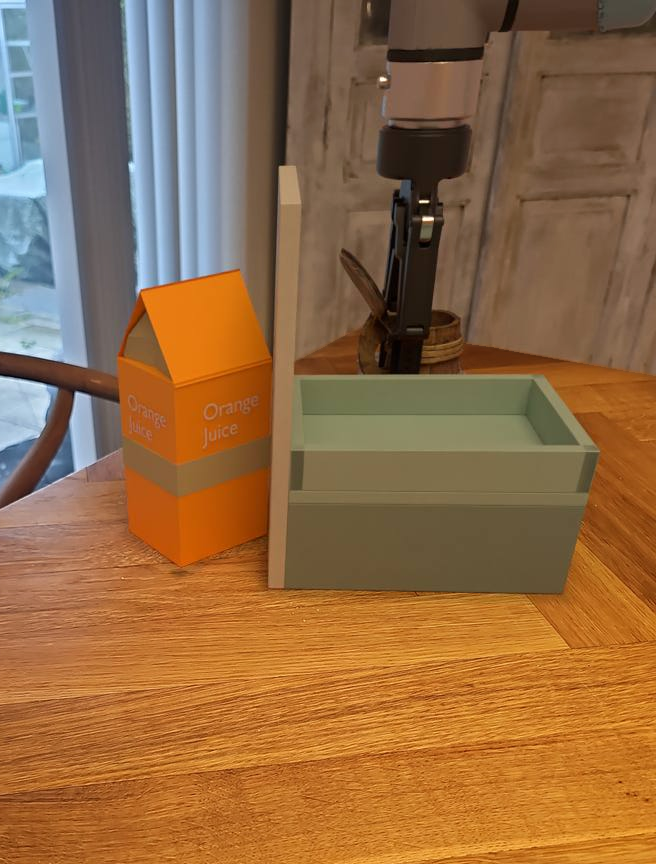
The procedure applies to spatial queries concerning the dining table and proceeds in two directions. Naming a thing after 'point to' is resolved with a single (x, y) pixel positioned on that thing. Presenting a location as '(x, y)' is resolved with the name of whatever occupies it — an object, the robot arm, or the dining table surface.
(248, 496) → the orange juice
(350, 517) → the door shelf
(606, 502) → the dining table surface
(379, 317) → the wooden mug
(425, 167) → the robot arm
